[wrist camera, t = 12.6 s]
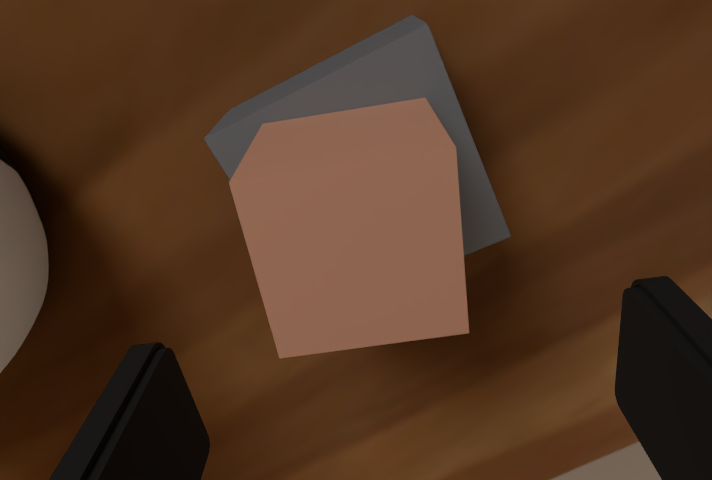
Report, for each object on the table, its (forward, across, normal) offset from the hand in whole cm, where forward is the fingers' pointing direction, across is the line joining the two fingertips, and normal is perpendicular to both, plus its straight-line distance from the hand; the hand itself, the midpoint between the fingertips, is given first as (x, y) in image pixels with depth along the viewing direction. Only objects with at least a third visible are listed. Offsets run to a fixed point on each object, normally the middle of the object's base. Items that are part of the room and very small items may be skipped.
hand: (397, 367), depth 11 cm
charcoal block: (+16, +1, 0) cm, 16 cm away
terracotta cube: (+10, +1, 0) cm, 11 cm away
